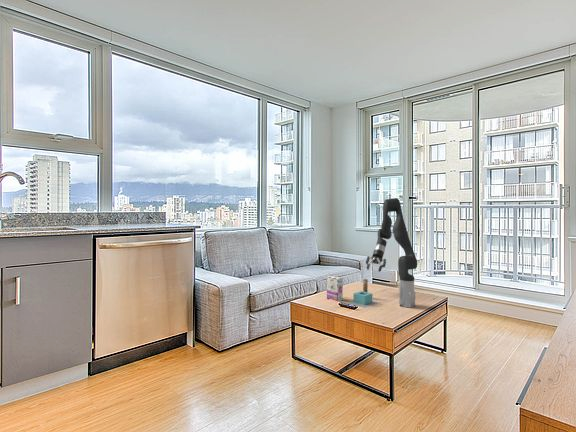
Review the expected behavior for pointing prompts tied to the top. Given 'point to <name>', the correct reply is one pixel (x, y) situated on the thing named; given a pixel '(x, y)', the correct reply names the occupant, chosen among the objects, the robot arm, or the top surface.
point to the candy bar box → (334, 288)
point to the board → (363, 305)
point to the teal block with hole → (362, 297)
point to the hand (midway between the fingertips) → (373, 270)
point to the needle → (365, 285)
